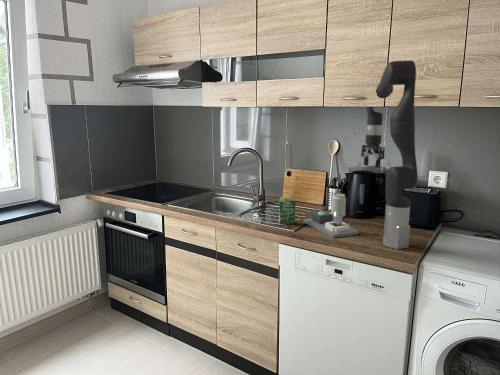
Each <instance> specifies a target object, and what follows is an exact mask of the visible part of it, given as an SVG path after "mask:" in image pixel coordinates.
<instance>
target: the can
mask: <svg viewBox="0 0 500 375" xmlns="http://www.w3.org/2000/svg"><path fill="white" fill-rule="evenodd" d="M346 204H347V197H346V194H343V193H334V194H332V196H331V204H330V205H331V208H330V213H331V214H333V213H334V211H342V218H344V217H345V216H346V207H347V206H346Z"/></svg>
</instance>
